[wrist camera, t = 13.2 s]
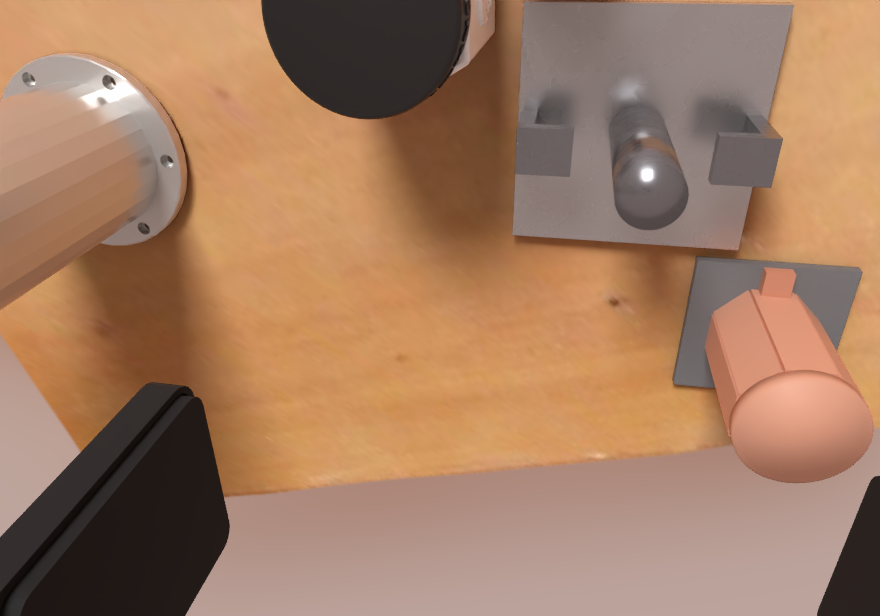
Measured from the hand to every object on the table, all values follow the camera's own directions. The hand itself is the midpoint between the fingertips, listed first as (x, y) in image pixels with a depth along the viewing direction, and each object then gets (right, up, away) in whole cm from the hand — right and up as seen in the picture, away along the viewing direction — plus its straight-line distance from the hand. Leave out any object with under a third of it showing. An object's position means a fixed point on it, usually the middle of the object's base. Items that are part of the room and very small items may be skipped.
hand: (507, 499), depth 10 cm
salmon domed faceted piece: (+19, +1, +32) cm, 37 cm away
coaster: (+19, +2, +33) cm, 38 cm away
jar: (-2, +20, +27) cm, 34 cm away
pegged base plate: (+10, +13, +28) cm, 33 cm away
